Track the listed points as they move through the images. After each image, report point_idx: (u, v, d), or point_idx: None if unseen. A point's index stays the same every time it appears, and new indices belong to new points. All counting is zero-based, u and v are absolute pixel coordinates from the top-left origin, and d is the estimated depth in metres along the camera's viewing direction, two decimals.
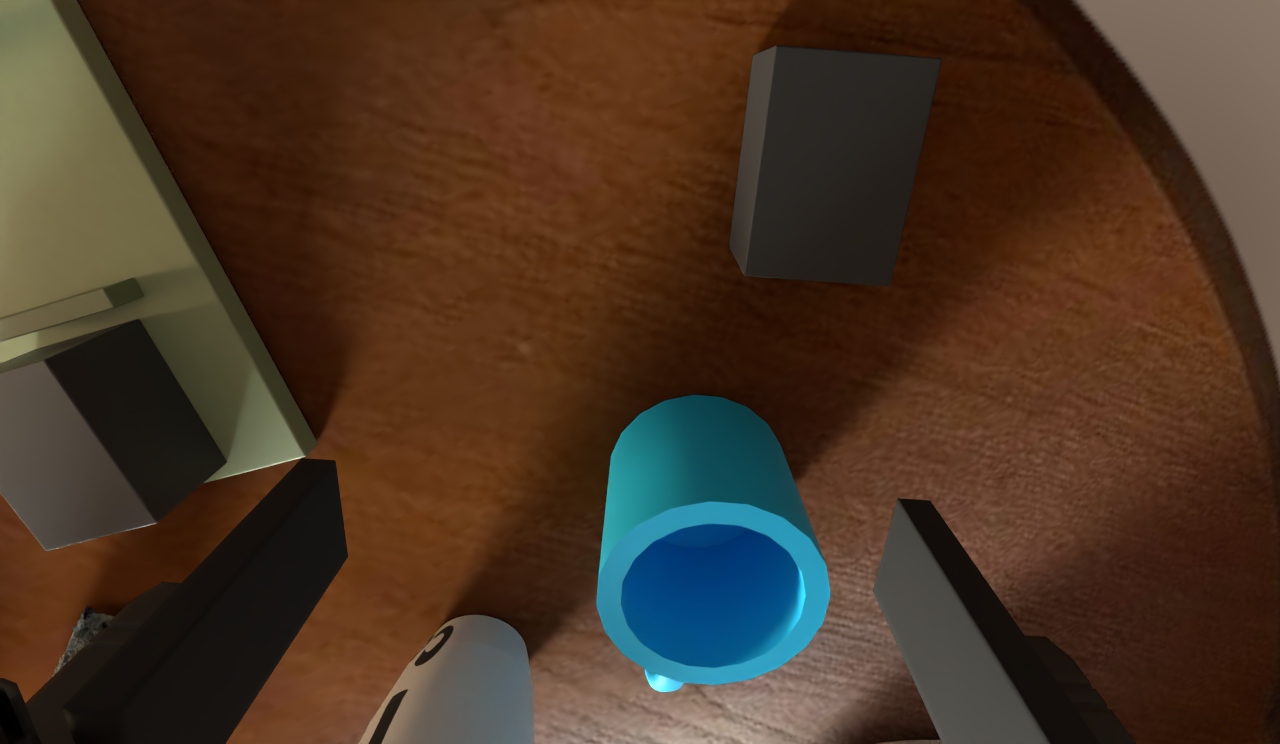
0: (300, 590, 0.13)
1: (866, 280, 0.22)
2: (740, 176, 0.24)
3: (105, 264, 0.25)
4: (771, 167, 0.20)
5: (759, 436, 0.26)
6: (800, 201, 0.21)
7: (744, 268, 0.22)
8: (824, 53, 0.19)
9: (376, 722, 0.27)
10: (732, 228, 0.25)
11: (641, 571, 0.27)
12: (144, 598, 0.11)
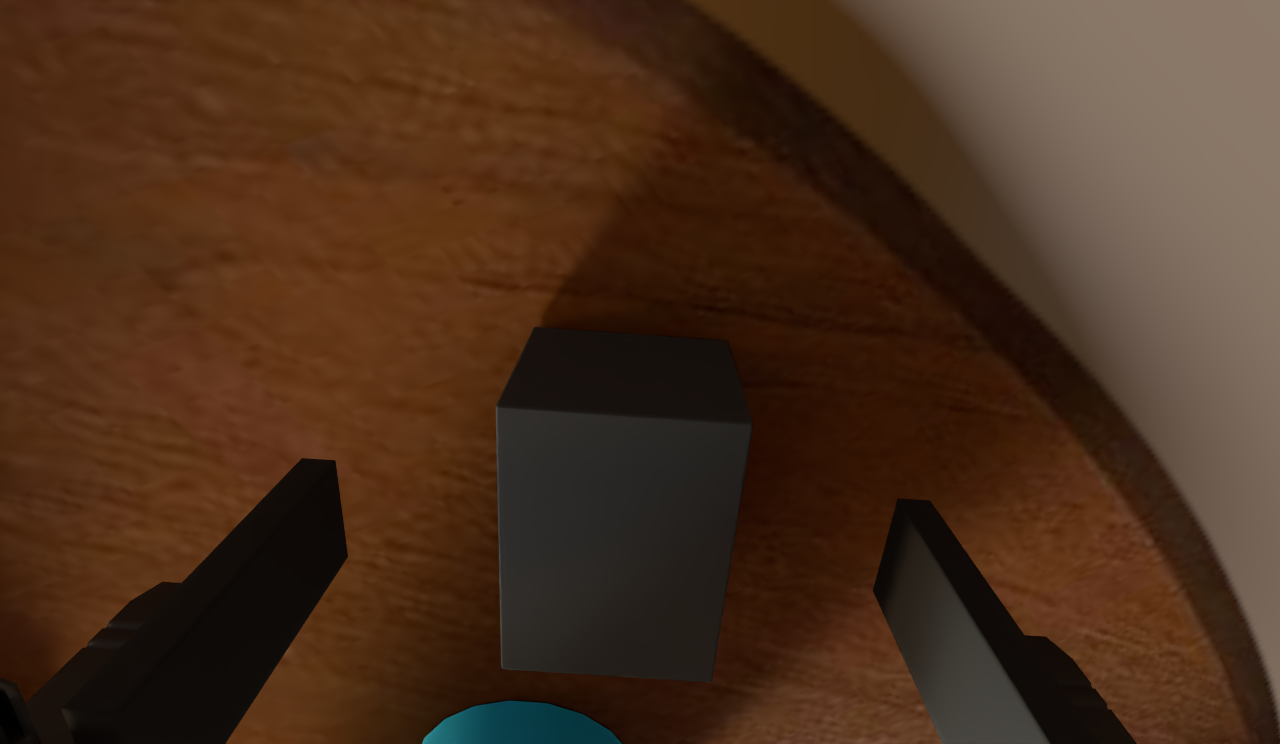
0: (300, 590, 0.13)
1: (676, 675, 0.15)
2: None
3: None
4: (516, 550, 0.14)
5: None
6: (565, 588, 0.14)
7: (502, 658, 0.15)
8: (571, 416, 0.12)
9: None
10: None
11: None
12: (144, 598, 0.11)
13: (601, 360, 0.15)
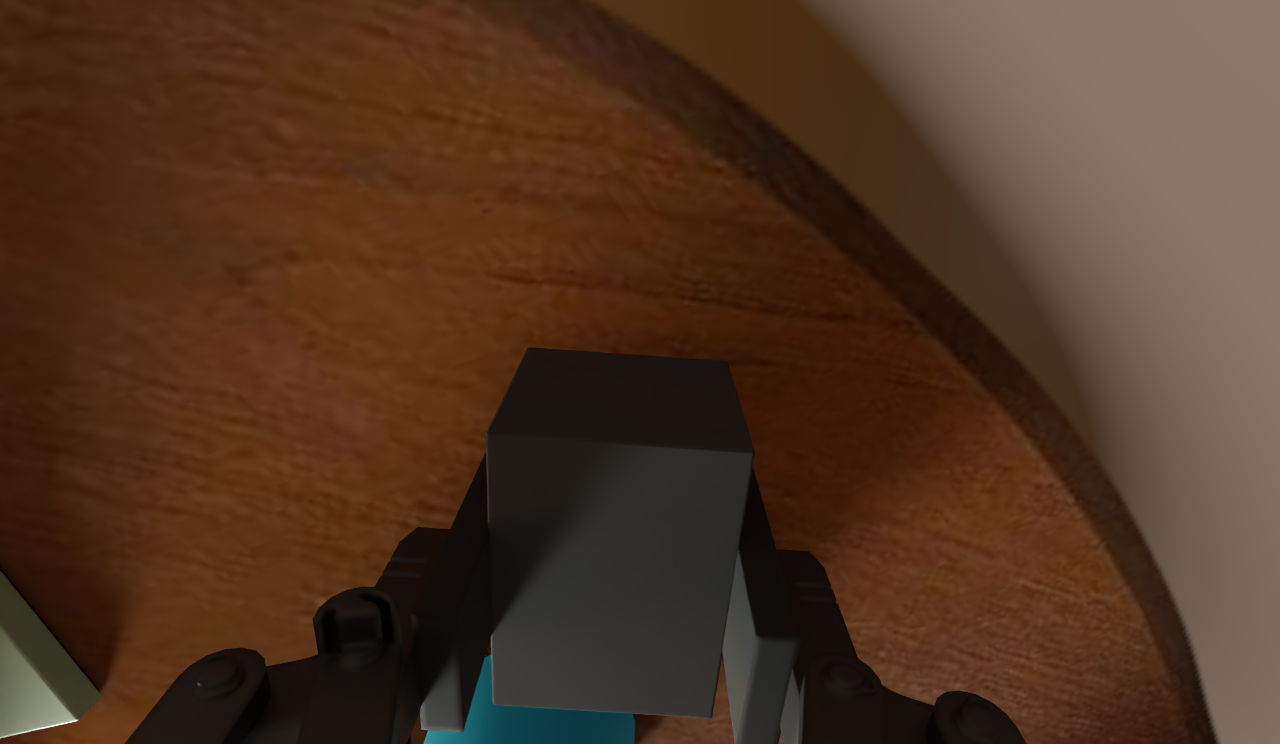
0: None
1: (675, 711, 0.15)
2: None
3: None
4: (508, 582, 0.13)
5: (584, 718, 0.23)
6: (559, 621, 0.14)
7: None
8: (565, 444, 0.12)
9: None
10: None
11: None
12: (410, 539, 0.13)
13: (597, 383, 0.14)
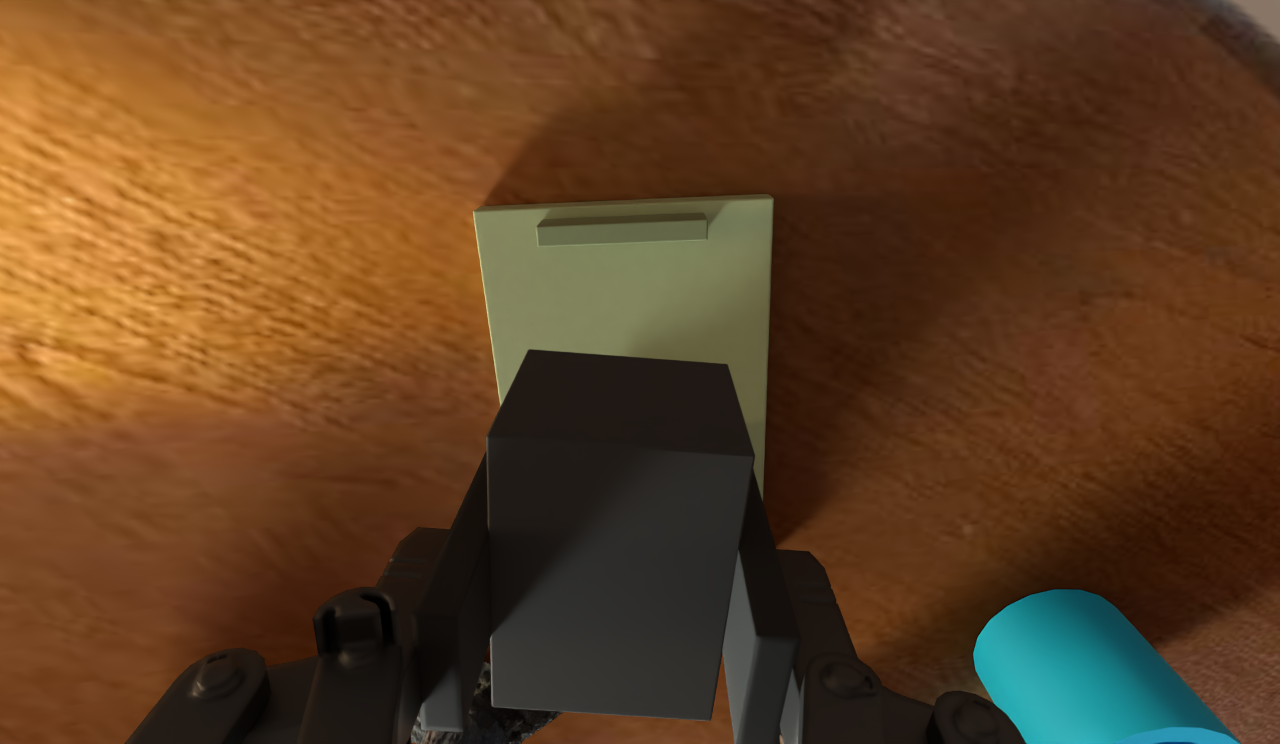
0: None
1: (674, 714, 0.15)
2: None
3: None
4: (508, 584, 0.13)
5: (1148, 644, 0.33)
6: (559, 624, 0.14)
7: (492, 695, 0.15)
8: (565, 446, 0.12)
9: None
10: None
11: None
12: (410, 539, 0.13)
13: (598, 386, 0.14)
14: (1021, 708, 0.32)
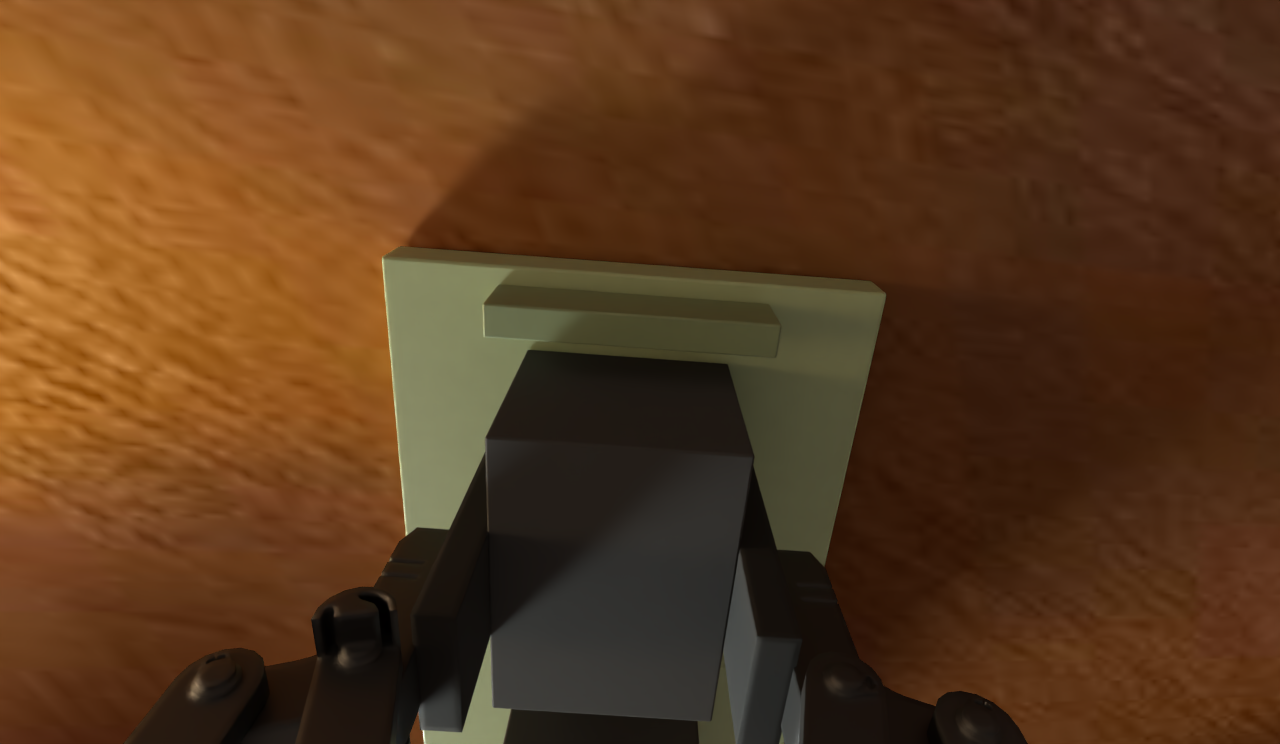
0: None
1: (675, 714, 0.15)
2: None
3: None
4: (507, 586, 0.13)
5: None
6: (559, 625, 0.14)
7: None
8: (564, 448, 0.12)
9: None
10: None
11: None
12: (409, 540, 0.13)
13: (597, 387, 0.14)
14: None
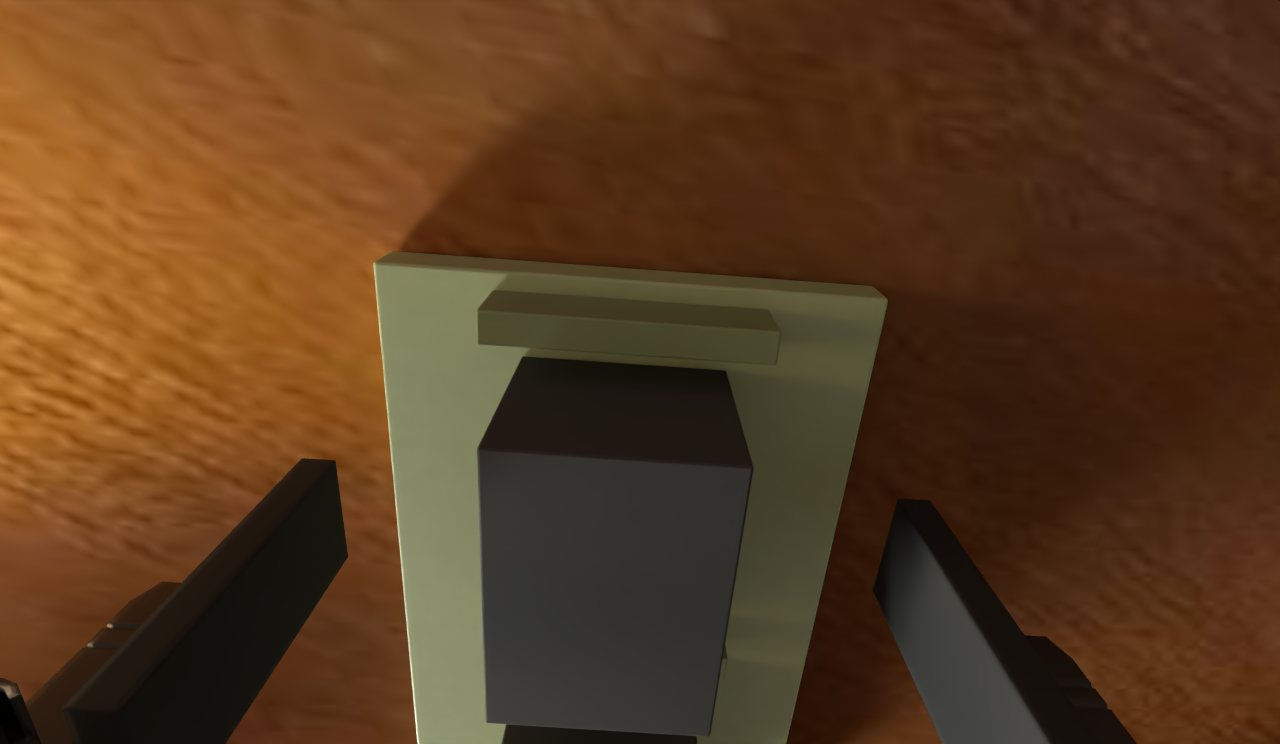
0: (300, 590, 0.13)
1: (672, 729, 0.14)
2: None
3: None
4: (500, 599, 0.13)
5: None
6: (553, 639, 0.13)
7: None
8: (558, 459, 0.12)
9: None
10: None
11: None
12: (144, 598, 0.11)
13: (592, 394, 0.14)
14: None
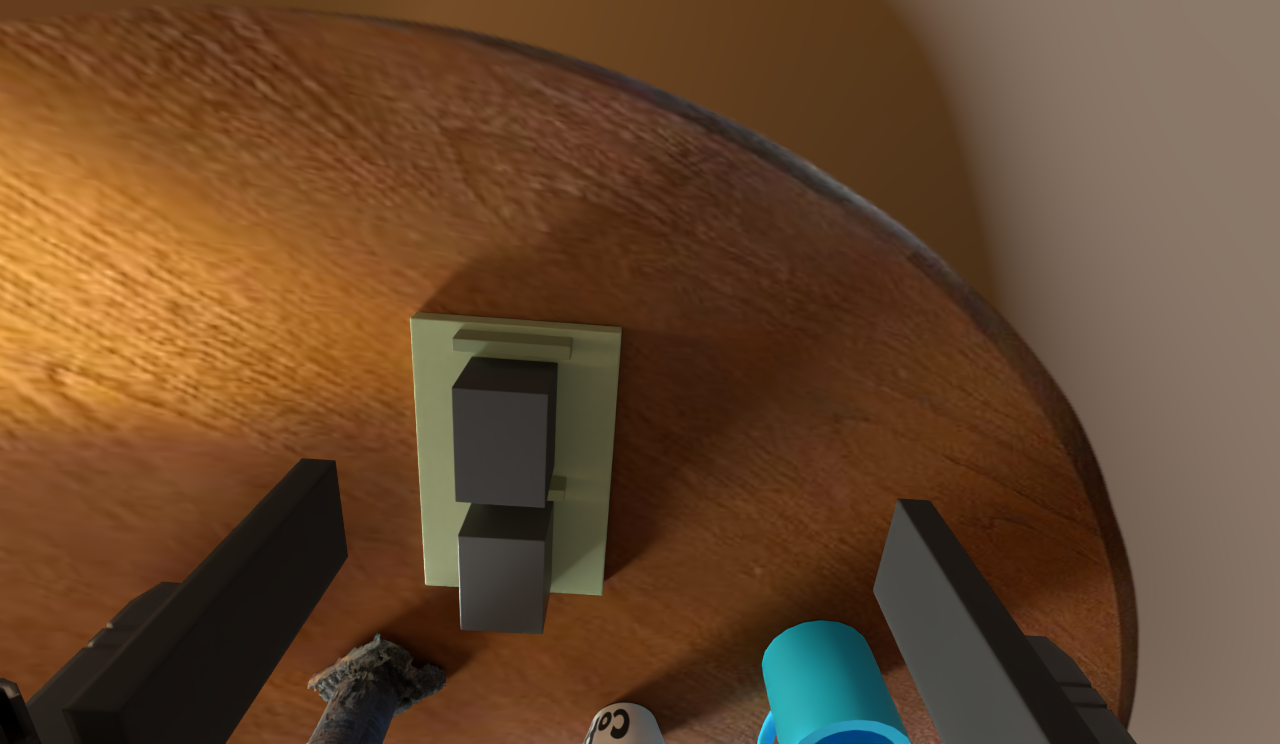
0: (300, 590, 0.13)
1: (530, 504, 0.36)
2: None
3: (554, 465, 0.40)
4: (460, 446, 0.34)
5: (876, 664, 0.45)
6: (481, 463, 0.35)
7: (455, 497, 0.36)
8: (480, 391, 0.33)
9: None
10: None
11: None
12: (144, 598, 0.11)
13: (497, 371, 0.36)
14: (777, 703, 0.44)
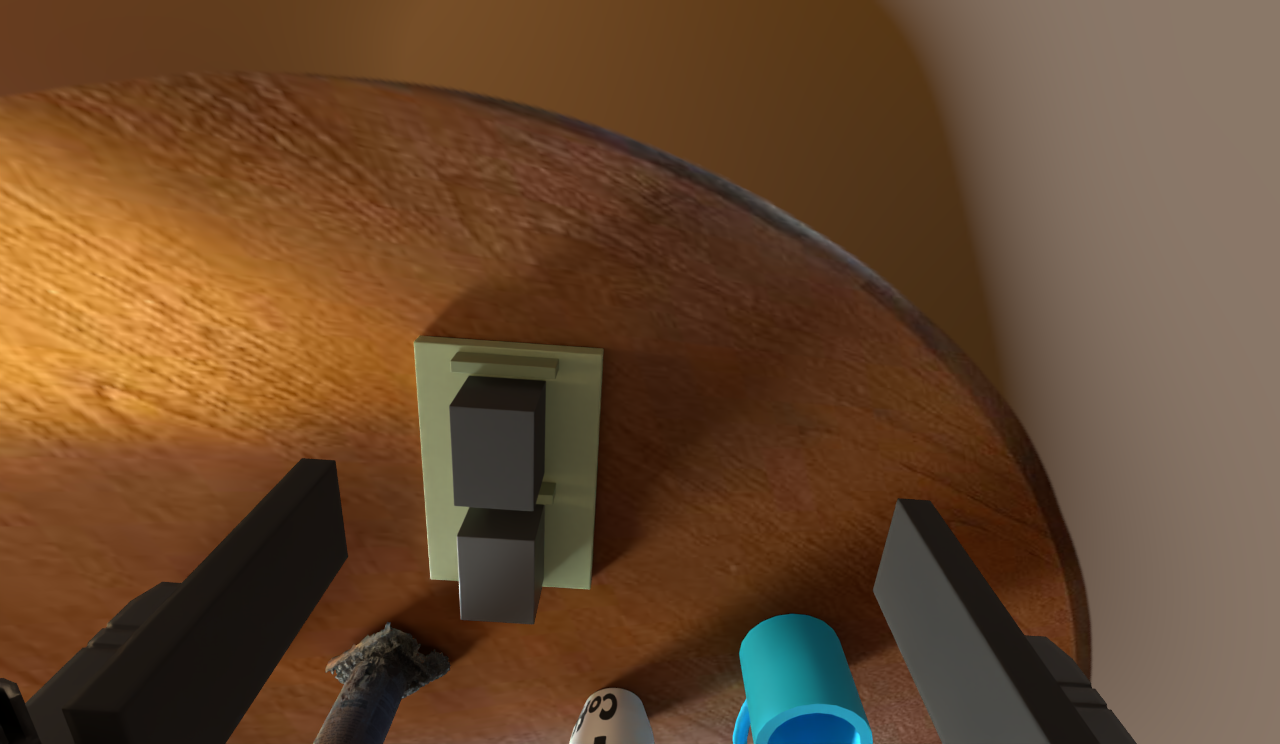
0: (300, 590, 0.13)
1: (520, 508, 0.40)
2: None
3: None
4: (458, 457, 0.39)
5: (842, 655, 0.49)
6: (476, 472, 0.39)
7: (454, 502, 0.40)
8: (474, 409, 0.38)
9: None
10: None
11: None
12: (144, 598, 0.11)
13: (491, 389, 0.40)
14: (750, 689, 0.48)
